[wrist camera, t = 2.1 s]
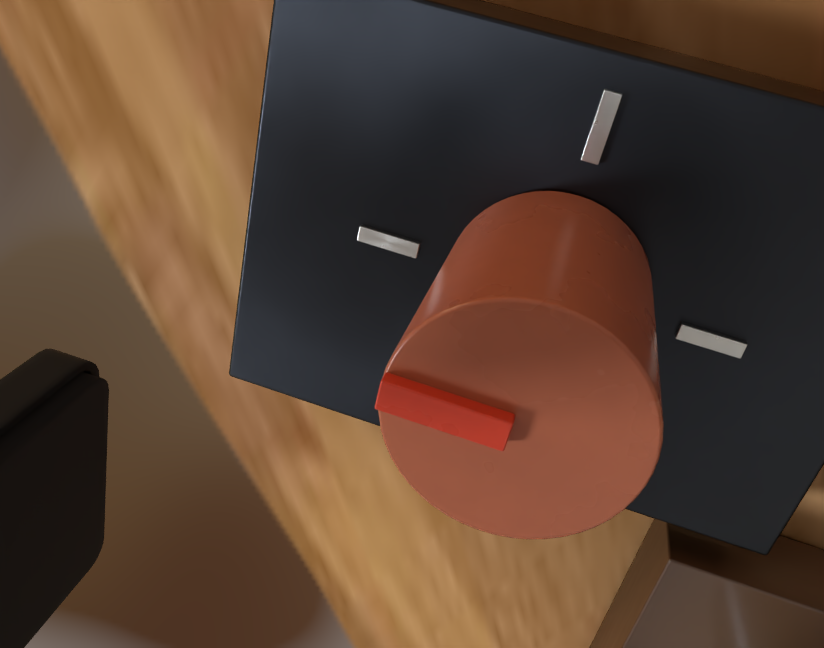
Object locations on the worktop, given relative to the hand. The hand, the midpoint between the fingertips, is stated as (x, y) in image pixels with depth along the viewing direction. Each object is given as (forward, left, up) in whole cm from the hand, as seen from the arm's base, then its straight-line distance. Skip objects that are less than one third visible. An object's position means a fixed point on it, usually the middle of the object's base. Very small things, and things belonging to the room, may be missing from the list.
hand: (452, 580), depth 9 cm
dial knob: (0, 0, -9) cm, 9 cm away
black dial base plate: (0, 0, -11) cm, 11 cm away
